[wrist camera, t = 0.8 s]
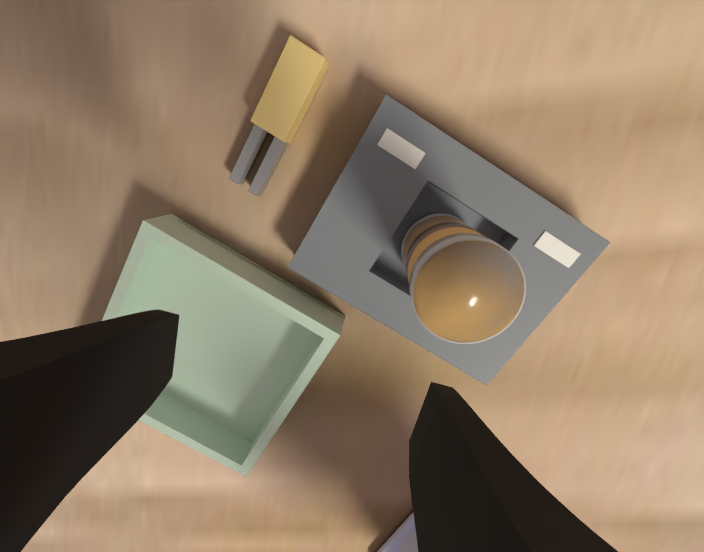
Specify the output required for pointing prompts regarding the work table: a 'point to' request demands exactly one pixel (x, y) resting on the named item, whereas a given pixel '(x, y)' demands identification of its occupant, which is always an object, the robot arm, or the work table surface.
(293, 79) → the puller tool
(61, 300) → the work table surface
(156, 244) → the parts tray
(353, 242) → the fuse block
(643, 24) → the work table surface
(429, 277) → the fuse
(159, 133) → the work table surface
